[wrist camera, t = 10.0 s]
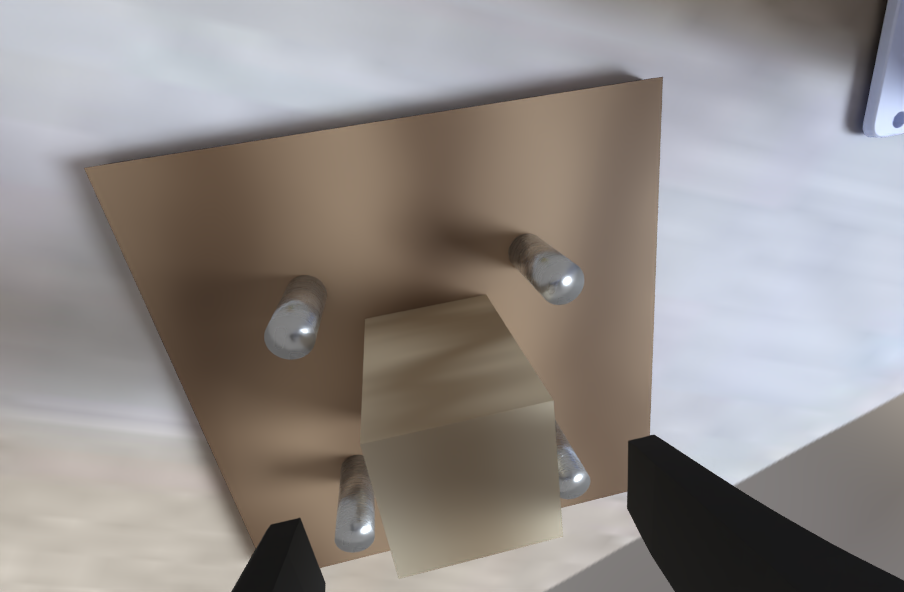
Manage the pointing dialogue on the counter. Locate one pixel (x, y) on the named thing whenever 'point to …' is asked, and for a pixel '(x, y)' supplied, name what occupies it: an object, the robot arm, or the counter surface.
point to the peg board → (398, 283)
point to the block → (456, 436)
